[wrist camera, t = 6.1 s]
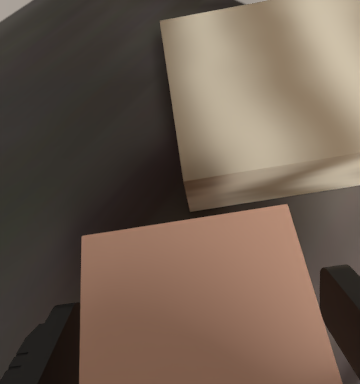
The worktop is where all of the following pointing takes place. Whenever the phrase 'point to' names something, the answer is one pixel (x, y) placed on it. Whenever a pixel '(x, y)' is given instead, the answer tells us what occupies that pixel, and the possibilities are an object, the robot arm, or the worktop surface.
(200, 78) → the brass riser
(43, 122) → the worktop surface
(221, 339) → the terracotta block
